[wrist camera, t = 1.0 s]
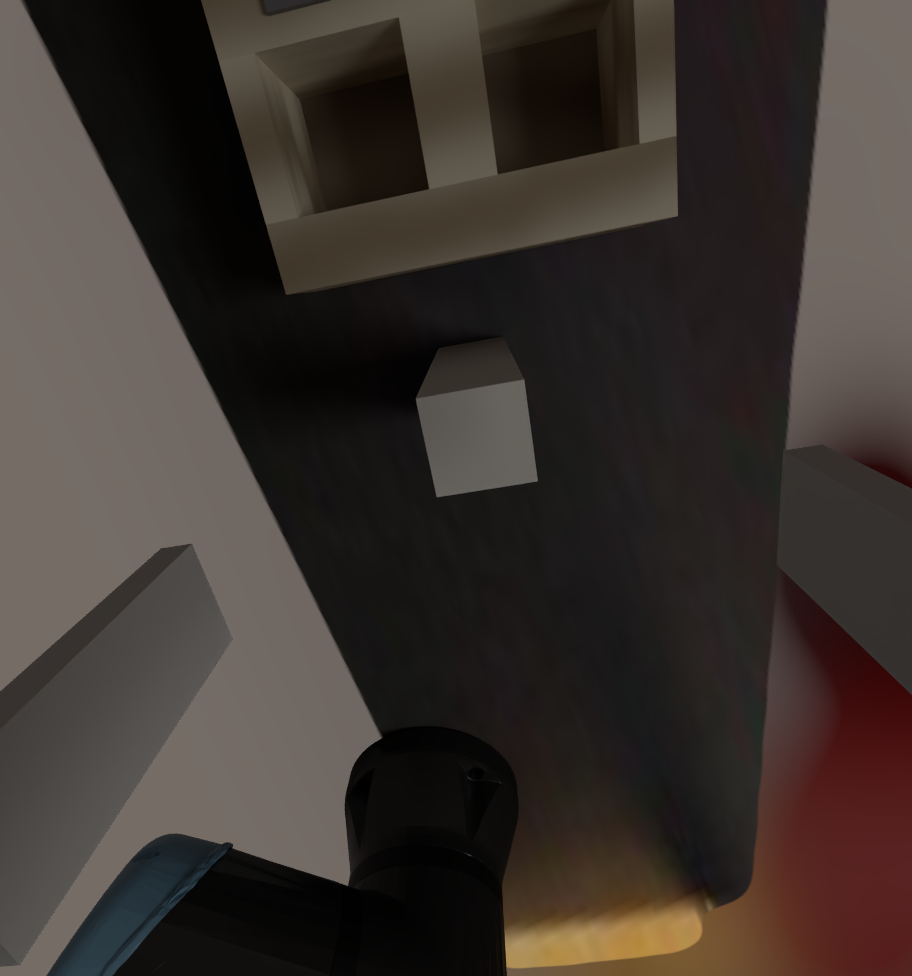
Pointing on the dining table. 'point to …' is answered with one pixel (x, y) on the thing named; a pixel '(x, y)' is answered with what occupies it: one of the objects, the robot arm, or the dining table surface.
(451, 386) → the plug
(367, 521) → the dining table surface
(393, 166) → the socket board
